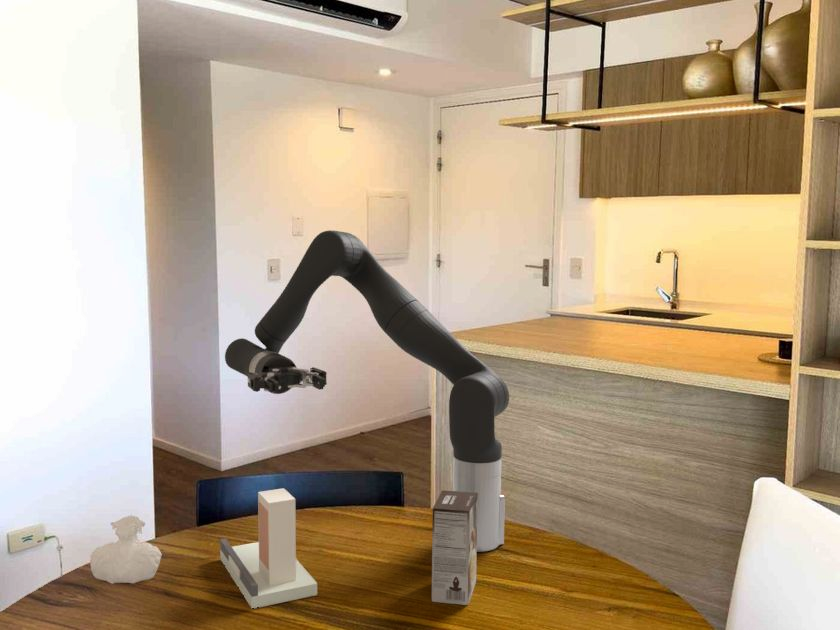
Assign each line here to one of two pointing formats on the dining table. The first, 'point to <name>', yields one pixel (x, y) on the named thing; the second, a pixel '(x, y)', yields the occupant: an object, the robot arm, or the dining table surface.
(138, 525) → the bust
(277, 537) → the carton
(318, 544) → the dining table surface
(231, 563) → the shelf board
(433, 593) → the coffee box
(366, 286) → the robot arm
